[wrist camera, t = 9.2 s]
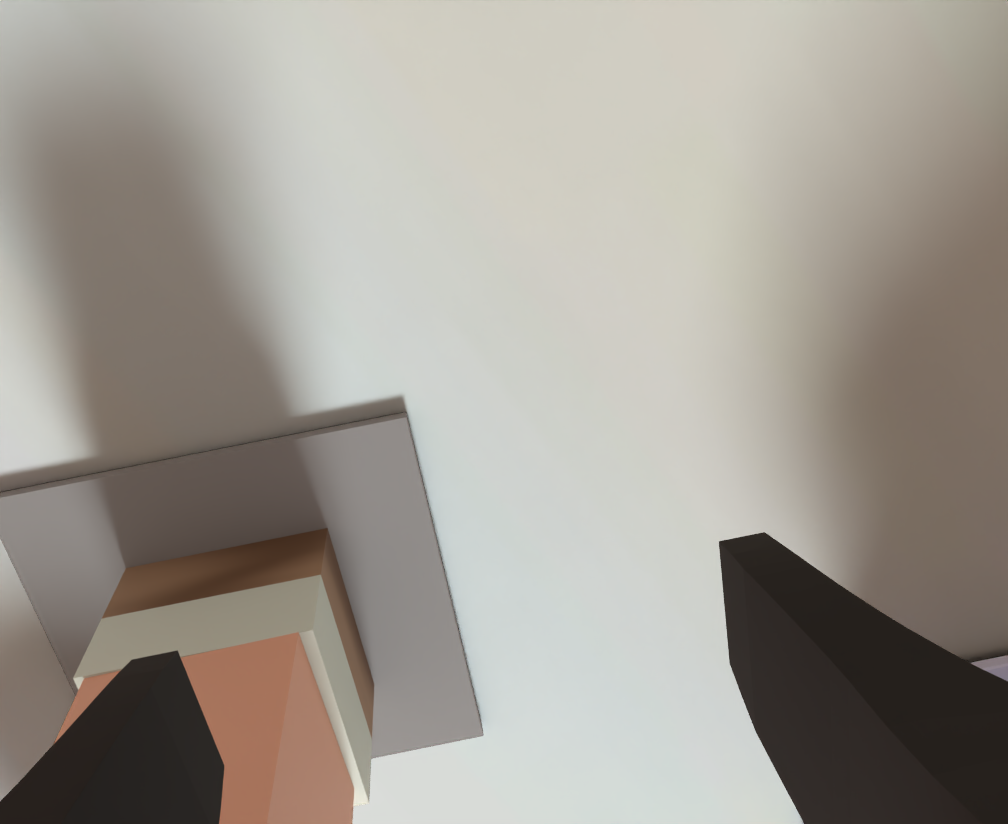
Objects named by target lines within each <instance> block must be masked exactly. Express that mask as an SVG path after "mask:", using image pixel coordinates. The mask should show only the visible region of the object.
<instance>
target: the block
mask: <svg viewBox="0 0 1008 824" xmlns="http://www.w3.org/2000/svg"><path fill="white" fill-rule="evenodd" d="M181 660H182V662H183V665H184V667H185V670H186V672H187V675H188V677H189V680H190V682H191V685H192V687H193V690H194V692H195V694H196V697H197V699H198V702H199V704H200V707H201V709H202V712H203V714H204V717H205V719H206V722H207V724H208V726H209V729H210V731H211V734H212V736H213V739H214V741H215V744H216V746H217V749H218V751H219V753H220V756H221V758H222V761H223V763H224V778H223V790H222V801H221V811H220V820H219V824H352V818H353V802H354V786H353V784H352V781H351V778H350V775H349V772H348V770H347V767H346V764H345V761H344V758H343V755H342V753H341V750H340V747H339V744H338V741H337V739H336V736H335V733H334V730H333V727H332V725H331V722H330V719H329V716H328V713H327V711H326V708H325V705H324V702H323V699H322V697H321V694H320V691H319V688H318V685H317V683H316V680H315V677H314V674H313V671H312V669H311V666H310V663H309V660H308V657H307V655H306V652H305V649H304V646H303V643H302V640H301V638H300V635H299V632H297V633H292V634H288V635H283V636H278V637H274V638H269V639H264V640H260V641H255V642H251V643H246V644H241V645H237V646H232V647H227V648H223V649H218V650H214V651H209V652H204V653H200V654H195V655H190V656H186V657H181ZM119 672H120V671H116V672H112V673H107V674H103V675H98V676H93V677H89V678H84V680H83V682H82V684H81V686H80V688H79V690H78V692H77V695H76V697H75V699H74V701H73V703H72V705H71V708H70V710H69V712H68V714H67V716H66V718H65V721H64V723H63V725H62V727H61V729H60V731H59V733H58V736H57V738H56V740H55V742H56V741H57V740H58V739H59V738H60V737H61V736H62V735H63V734H64V733H65V731H66V730H67V729H68V728H69V727H70V726H71V725H72V724H73V723H74V721H75V720H76V719H77V718H78V717H79V716H80V715H81V714H82V712H83V711H84V710H85V709H86V708H87V707H88V706H89V705H90V703H91V702H92V701H93V700H94V699H95V698H96V697H97V696H98V695H99V693H100V692H101V691H102V690H103V689H104V688H105V687H106V686H107V685H108V684H109V682H110V681H111V680H112V679H113V678H114V677H115V676H116V675H117V674H118V673H119ZM55 742H54V744H55ZM54 744H53V745H54Z"/></svg>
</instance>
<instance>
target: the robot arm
mask: <svg viewBox="0 0 1008 824" xmlns="http://www.w3.org/2000/svg"><path fill="white" fill-rule="evenodd" d="M719 547H720V559H721V570H722V581H723V593H724V604H725V615H726V626H727V638H728V649H729V660H730V665H731V668H732V671H733V673H734V676H735V679H736V681H737V684H738V687H739V689H740V692H741V695H742V697H743V700H744V703H745V705H746V708H747V710H748V713H749V715H750V718H751V720H752V723H753V726H754V728H755V731H756V733H757V735H758V737H759V738H760V740H761V742H762V744H763V746H764V748H765V750H766V752H767V754H768V756H769V758H770V760H771V761H772V763H773V765H774V767H775V769H776V771H777V773H778V775H779V777H780V779H781V780H782V782H783V784H784V786H785V788H786V790H787V792H788V794H789V796H790V797H791V799H792V801H793V803H794V805H795V807H796V809H797V811H798V812H799V814H800V816H801V818H802V820H803V822H804V824H1008V655H1006V656H1001V657H996V658H991V659H986V660H981V661H976V662H972V663H969V662H967V661H965V660H963V659H961V658H959V657H958V656H956V655H954V654H952V653H950V652H948V651H946V650H945V649H943V648H941V647H939V646H938V645H936V644H934V643H932V642H931V641H929V640H927V639H925V638H924V637H922V636H920V635H918V634H916V633H915V632H913V631H911V630H909V629H908V628H906V627H904V626H903V625H901V624H899V623H898V622H896V621H895V620H893V619H891V618H890V617H888V616H886V615H885V614H883V613H882V612H880V611H878V610H877V609H875V608H874V607H872V606H871V605H869V604H868V603H866V602H865V601H863V600H861V599H860V598H858V597H857V596H855V595H854V594H852V593H851V592H849V591H848V590H846V589H845V588H843V587H842V586H840V585H839V584H837V583H836V582H835V581H833V580H832V579H830V578H829V577H827V576H826V575H825V574H823V573H822V572H820V571H819V570H817V569H816V568H815V567H813V566H812V565H810V564H809V563H807V562H806V561H805V560H803V559H802V558H800V557H799V556H798V555H796V554H795V553H793V552H792V551H791V550H789V549H788V548H786V547H785V546H783V545H782V544H781V543H779V542H778V541H776V540H775V539H773V538H772V537H771V536H769V535H768V534H766V533H765V532H764V533H759V534H754V535H749V536H744V537H739V538H734V539H729V540H724V541H719ZM223 778H224V763H223V761H222V758H221V756H220V753H219V751H218V749H217V746H216V744H215V741H214V739H213V736H212V734H211V731H210V729H209V726H208V724H207V722H206V719H205V717H204V714H203V712H202V709H201V707H200V704H199V702H198V699H197V697H196V694H195V692H194V690H193V687H192V685H191V682H190V680H189V677H188V675H187V672H186V670H185V667H184V665H183V662H182V660H181V658H180V655H179V653H178V650H177V651H172V652H167V653H162V654H157V655H152V656H147V657H142V658H137V659H132V660H131V661H130V662H129V663H128V664H127V665H126V666H125V667H124V668H123V669H122V670H121V671H120V672H119V673H118V674H117V675H116V676H115V677H114V678H113V679H112V680H111V681H110V682H109V684H108V685H107V686H106V687H105V688H104V689H103V690H102V691H101V692H100V693H99V695H98V696H97V697H96V698H95V699H94V700H93V701H92V702H91V703H90V705H89V706H88V707H87V708H86V709H85V710H84V711H83V712H82V714H81V715H80V716H79V717H78V718H77V719H76V720H75V721H74V723H73V724H72V725H71V726H70V727H69V728H68V729H67V730H66V731H65V733H64V734H63V735H62V736H61V737H60V738H59V739H58V740H57V741H56V742H55V744H54V745H53V746H52V747H51V748H50V749H49V750H48V751H47V752H46V753H45V755H44V756H43V757H42V758H41V759H40V760H39V761H38V762H37V763H36V764H35V766H34V767H33V768H32V769H31V770H30V771H29V772H28V773H27V774H26V775H25V777H24V778H23V779H22V780H21V781H20V782H19V783H18V784H17V785H16V786H15V787H14V788H13V789H12V790H11V791H10V792H9V793H8V794H7V795H6V796H5V797H4V798H3V799H2V800H1V801H0V824H219V820H220V811H221V801H222V790H223Z"/></svg>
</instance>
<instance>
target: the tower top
mask: <svg viewBox="0 0 1008 824" xmlns="http://www.w3.org/2000/svg"><path fill="white" fill-rule="evenodd" d="M297 632H299V635H300V638H301V640H302V643H303V646H304V649H305V652H306V655H307V657H308V660H309V663H310V666H311V669H312V671H313V674H314V677H315V680H316V683H317V685H318V688H319V691H320V694H321V697H322V699H323V702H324V705H325V708H326V711H327V713H328V716H329V719H330V722H331V725H332V727H333V730H334V733H335V736H336V739H337V741H338V744H339V747H340V750H341V753H342V755H343V758H344V761H345V764H346V767H347V770H348V772H349V775H350V778H351V781H352V784H353V786H354V802H353V806H358V805H363V804H368V803H369V794H370V772H371V750H372V738H371V735H370V732H369V728H368V725H367V722H366V719H365V715H364V712H363V709H362V706H361V703H360V699H359V696H358V693H357V690H356V686H355V683H354V680H353V677H352V674H351V670H350V667H349V664H348V661H347V657H346V654H345V651H344V648H343V645H342V641H341V638H340V635H339V632H338V628H337V625H336V622H335V619H334V616H333V612H332V609H331V606H330V603H329V599H328V596H327V593H326V590H325V587H324V583H323V580H322V577H321V575H317V576H312V577H307V578H302V579H297V580H292V581H287V582H282V583H277V584H272V585H267V586H262V587H257V588H252V589H247V590H242V591H237V592H232V593H227V594H222V595H217V596H212V597H207V598H202V599H197V600H192V601H187V602H182V603H177V604H172V605H167V606H162V607H157V608H152V609H147V610H142V611H137V612H132V613H127V614H122V615H117V616H112V617H107V618H102V619H101V621H100V623H99V625H98V627H97V629H96V631H95V633H94V636H93V638H92V640H91V642H90V644H89V646H88V648H87V650H86V652H85V654H84V656H83V659H82V661H81V663H80V665H79V667H78V669H77V671H76V673H75V675H74V677H73V679H74V681H75V684H76V686H77V688H78V690H79V688H80V686H81V684H82V682H83V680H84V678H89V677H93V676H98V675H103V674H107V673H112V672H116V671H121V670H122V669H123V668H124V667H125V666H126V665H127V664H128V663H129V662H130V661H131V660H132V659H137V658H142V657H147V656H152V655H157V654H162V653H167V652H172V651H177V650H178V653H179V655H180V658H181V657H186V656H190V655H195V654H200V653H204V652H209V651H214V650H218V649H223V648H227V647H232V646H237V645H241V644H246V643H251V642H255V641H260V640H264V639H269V638H274V637H278V636H283V635H288V634H292V633H297Z"/></svg>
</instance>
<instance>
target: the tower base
mask: <svg viewBox="0 0 1008 824" xmlns="http://www.w3.org/2000/svg"><path fill="white" fill-rule="evenodd" d="M317 575H321V577H322V580H323V583H324V587H325V590H326V593H327V596H328V599H329V603H330V606H331V609H332V612H333V616H334V619H335V622H336V625H337V628H338V632H339V635H340V638H341V641H342V645H343V648H344V651H345V654H346V657H347V661H348V664H349V667H350V670H351V674H352V677H353V680H354V683H355V686H356V690H357V693H358V696H359V699H360V703H361V706H362V709H363V712H364V715H365V719H366V722H367V725H368V728H369V732H370V735H371V738H372V727H373V705H374V682H373V678H372V675H371V672H370V668H369V665H368V662H367V658H366V655H365V652H364V648H363V645H362V642H361V638H360V635H359V632H358V628H357V625H356V622H355V618H354V615H353V612H352V608H351V605H350V602H349V598H348V595H347V592H346V588H345V585H344V581H343V578H342V575H341V571H340V568H339V565H338V561H337V558H336V555H335V551H334V548H333V545H332V541H331V538H330V535H329V531H328V528H325V529H320V530H315V531H310V532H305V533H300V534H295V535H290V536H285V537H280V538H275V539H270V540H265V541H260V542H255V543H250V544H245V545H240V546H235V547H230V548H225V549H220V550H215V551H210V552H205V553H200V554H195V555H190V556H185V557H180V558H175V559H170V560H165V561H160V562H155V563H150V564H145V565H140V566H135V567H130V568H126V569H125V571H124V573H123V575H122V577H121V579H120V581H119V583H118V586H117V588H116V590H115V592H114V594H113V596H112V598H111V600H110V602H109V604H108V606H107V608H106V611H105V613H104V615H103V617H102V618H107V617H112V616H117V615H122V614H127V613H132V612H137V611H142V610H147V609H152V608H157V607H162V606H167V605H172V604H177V603H182V602H187V601H192V600H197V599H202V598H207V597H212V596H217V595H222V594H227V593H232V592H237V591H242V590H247V589H252V588H257V587H262V586H267V585H272V584H277V583H282V582H287V581H292V580H297V579H302V578H307V577H312V576H317Z"/></svg>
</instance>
